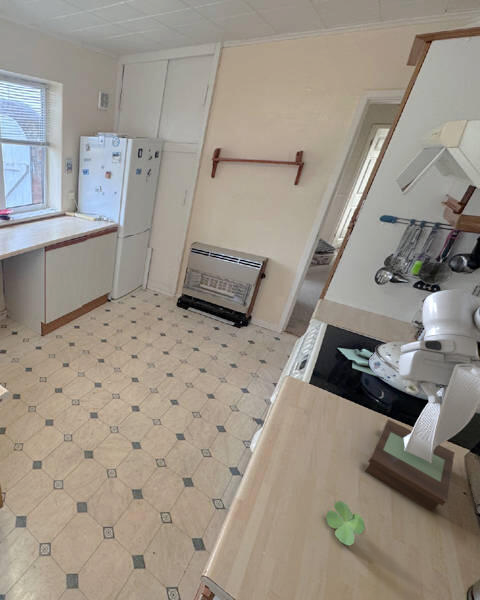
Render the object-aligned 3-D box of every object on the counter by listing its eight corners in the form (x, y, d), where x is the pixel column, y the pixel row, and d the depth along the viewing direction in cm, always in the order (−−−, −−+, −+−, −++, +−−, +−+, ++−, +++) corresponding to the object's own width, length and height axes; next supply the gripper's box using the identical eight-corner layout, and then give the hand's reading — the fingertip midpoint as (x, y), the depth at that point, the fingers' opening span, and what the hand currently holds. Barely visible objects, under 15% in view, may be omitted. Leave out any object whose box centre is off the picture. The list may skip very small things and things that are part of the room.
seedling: (340, 542, 73) (325, 537, 71) (338, 503, 76) (324, 497, 74) (380, 556, 67) (366, 551, 65) (377, 513, 71) (363, 506, 68)
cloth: (404, 388, 117) (407, 383, 116) (333, 360, 130) (335, 355, 129) (403, 364, 131) (406, 359, 130) (339, 341, 144) (341, 337, 143)
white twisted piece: (438, 470, 79) (517, 382, 66) (399, 451, 83) (465, 366, 70) (434, 449, 85) (505, 365, 72) (397, 433, 89) (459, 351, 76)
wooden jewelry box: (380, 431, 98) (388, 419, 96) (443, 464, 88) (454, 452, 86) (361, 470, 85) (370, 457, 83) (434, 514, 76) (446, 501, 73)
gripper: (488, 363, 81) (495, 419, 77) (393, 345, 85) (395, 397, 81) (516, 359, 75) (525, 420, 71) (412, 339, 80) (415, 396, 75)
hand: (455, 407), depth 76 cm, fingers closed on white twisted piece, 6 cm apart
